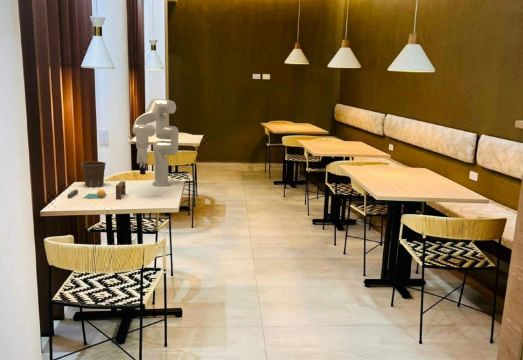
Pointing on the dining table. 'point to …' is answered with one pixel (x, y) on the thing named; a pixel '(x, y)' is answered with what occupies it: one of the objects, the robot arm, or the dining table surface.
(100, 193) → the ball
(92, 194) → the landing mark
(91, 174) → the plant pot
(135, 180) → the dining table surface
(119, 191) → the bridge
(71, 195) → the stopper wall
